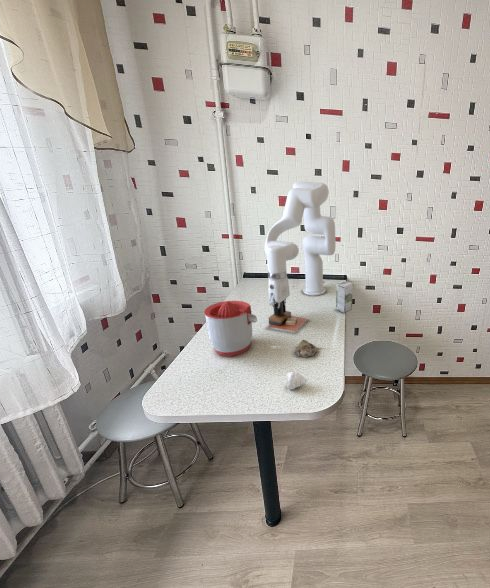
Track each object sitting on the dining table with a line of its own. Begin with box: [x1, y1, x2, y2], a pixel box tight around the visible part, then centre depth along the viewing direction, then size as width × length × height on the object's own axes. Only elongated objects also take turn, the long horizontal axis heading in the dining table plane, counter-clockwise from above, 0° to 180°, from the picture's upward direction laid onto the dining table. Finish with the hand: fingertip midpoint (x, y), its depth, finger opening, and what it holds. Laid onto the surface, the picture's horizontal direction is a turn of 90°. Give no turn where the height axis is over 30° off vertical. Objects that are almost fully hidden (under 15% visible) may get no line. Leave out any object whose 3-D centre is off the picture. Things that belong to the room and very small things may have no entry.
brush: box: [268, 302, 292, 326], centre depth 146 cm, size 9×6×9 cm, turn 166°
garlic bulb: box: [286, 371, 308, 390], centre depth 106 cm, size 6×6×5 cm
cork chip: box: [286, 318, 297, 325], centre depth 147 cm, size 4×4×2 cm
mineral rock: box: [295, 339, 318, 358], centre depth 127 cm, size 11×4×8 cm
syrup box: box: [335, 280, 354, 314], centre depth 162 cm, size 6×6×14 cm
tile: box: [267, 315, 309, 332], centre depth 147 cm, size 13×13×1 cm
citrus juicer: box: [203, 300, 258, 357], centre depth 123 cm, size 16×17×20 cm
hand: (280, 313), depth 147 cm, fingers closed on brush, 3 cm apart
